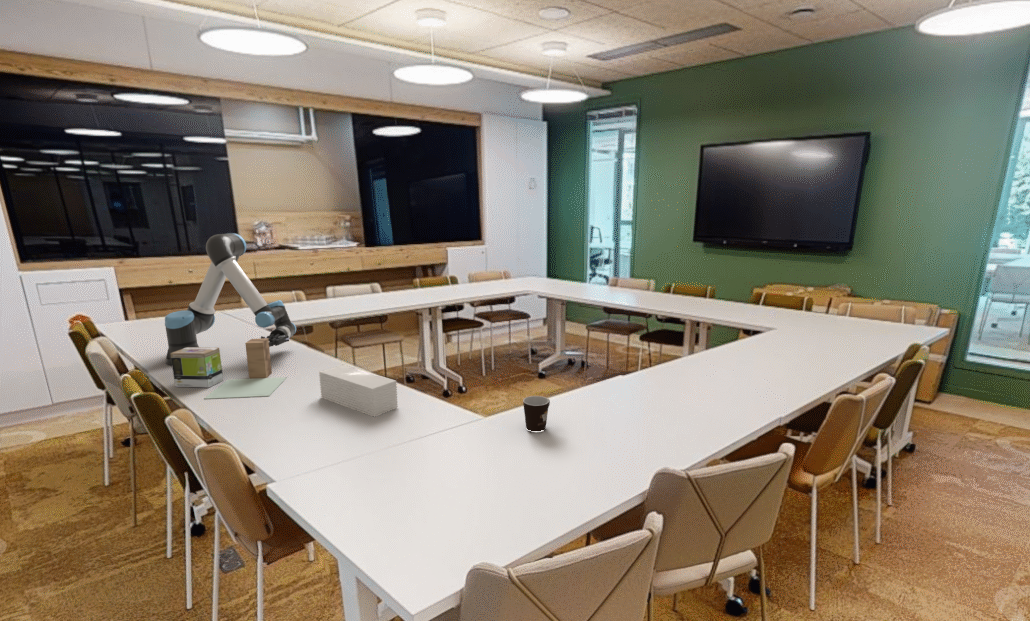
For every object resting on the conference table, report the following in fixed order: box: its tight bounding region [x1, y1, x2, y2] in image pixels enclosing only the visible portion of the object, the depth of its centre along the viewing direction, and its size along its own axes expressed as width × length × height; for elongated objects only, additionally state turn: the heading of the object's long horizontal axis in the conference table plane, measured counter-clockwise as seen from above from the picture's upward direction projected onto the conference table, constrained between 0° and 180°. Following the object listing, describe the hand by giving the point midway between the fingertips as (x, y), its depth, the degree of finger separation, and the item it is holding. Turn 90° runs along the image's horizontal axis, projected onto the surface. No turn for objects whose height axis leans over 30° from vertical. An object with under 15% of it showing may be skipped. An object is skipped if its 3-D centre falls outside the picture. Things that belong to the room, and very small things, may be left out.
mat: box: [203, 376, 288, 400], centre depth 212 cm, size 22×24×1 cm
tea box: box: [170, 346, 224, 389], centre depth 216 cm, size 15×10×15 cm, turn 84°
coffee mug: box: [522, 395, 551, 431], centre depth 173 cm, size 12×9×10 cm
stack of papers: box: [318, 364, 399, 418], centre depth 195 cm, size 32×11×11 cm, turn 53°
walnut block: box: [245, 337, 273, 379], centre depth 225 cm, size 7×7×16 cm
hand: (263, 347), depth 229 cm, fingers closed
